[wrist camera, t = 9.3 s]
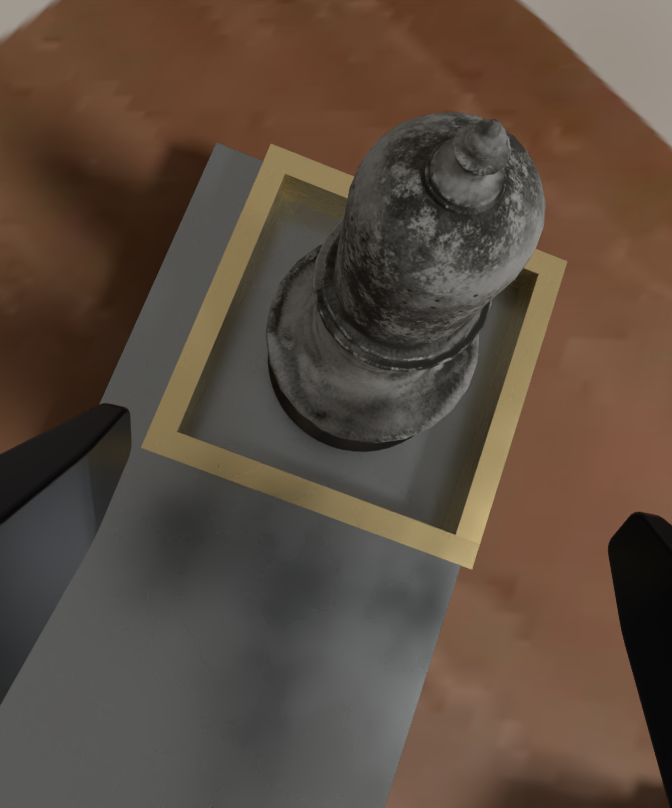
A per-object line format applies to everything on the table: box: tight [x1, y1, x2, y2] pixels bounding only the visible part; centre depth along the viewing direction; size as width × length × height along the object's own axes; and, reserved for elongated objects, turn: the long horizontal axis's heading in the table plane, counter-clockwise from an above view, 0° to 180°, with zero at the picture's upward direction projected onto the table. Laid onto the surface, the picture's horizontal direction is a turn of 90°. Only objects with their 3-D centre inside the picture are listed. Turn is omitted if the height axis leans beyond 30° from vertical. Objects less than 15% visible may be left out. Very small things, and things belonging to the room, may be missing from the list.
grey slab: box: [0, 143, 567, 808], centre depth 17 cm, size 23×13×4 cm, turn 160°
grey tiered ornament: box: [266, 112, 545, 443], centre depth 11 cm, size 6×6×12 cm
